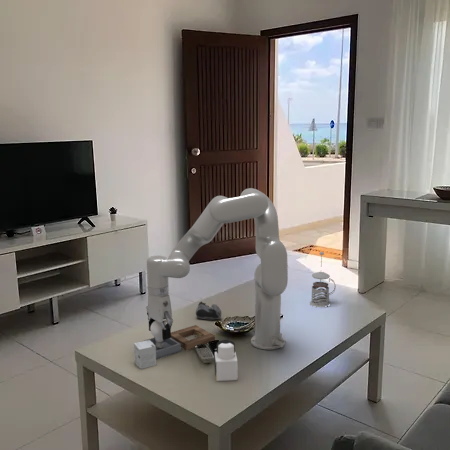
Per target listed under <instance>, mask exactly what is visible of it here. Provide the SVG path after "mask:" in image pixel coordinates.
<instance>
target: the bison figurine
mask: <svg viewBox="0 0 450 450" xmlns="http://www.w3.org/2000/svg"><path fill="white" fill-rule="evenodd" d="M195 316H196V317H197V318H198V319H201V320H209V321H210V320H219V319H221V318H222V310H221V309H220V307H219V306H218V304H213V303H212V304H211V307H210V306H209V305H208V304H206V302H203V301H200V302H199V303H198V304H197V307H196V309H195Z"/></svg>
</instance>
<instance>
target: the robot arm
mask: <svg viewBox="0 0 450 450" xmlns="http://www.w3.org/2000/svg"><path fill="white" fill-rule="evenodd" d="M250 219H253V220H254V226H255V253H256V255H257V256H258V257H259V259H260V264H258V265H257V266H256V268H255V269H254V270H255V271H254V276H253V280H254V292H255V301H254V302H255V305H254V306H255V307H254V309H255V311H254V313H255V316H254V317H255V319H254V322H255V323H254V332H255V333H254V335H253V336H252V337H251V338H250V343H251V345H252V346H254V348H257V349H261V350H267V351H268V350H271V351H272V350H276V349H280V348H284V346H285V345H286V343H287V340H286V339H284V338H283V333H281V304H282V294H283V293H284V292H285V291H286V289H287V286H288V279H289V277H288V276H289V275H288V268H289V267H288V252H287V248H286V246H285V244H284V242H282V241H281V240H280V228H279V219H278V212H277V209H276V207H275V205H274V203H273V201H272V200H271V199H270V198H269V197H268V196H267V195H266V194H265V193H264V192H262V191H260V190H258V189H256V188H252V187H250V188H245V189H244V190H243V191H242V192H241V193H240V196H239V195H238V196H235V197H226V196H224V195H217V196H214V197H213V198H212V199H211V200H210V201H209V203H208V204H207V206H206V207H205V209H204V210H203V211H202V213H201V214H200V215H199V217H198V218H197V219H196V221H195V222H194V223H193V225H192V226H191V227H190V229H189V230H187V232H186V233H185V234H184V235H183V236H182V237H181V239H180V240H179V241H178V242H177V244H176V245H175V246H174V248H173V249H172V251H171V252H170V254H169V256H168V258H167V257H166V256H164V255H153V256H150V257H148V258H147V259H146V273H147V274H146V278H147V305H146V307H145V309H146V314H147V320H148V331H150V332H151V330H150V327H151V324H152V323H153V322H154V321H158V322H159V323H161V324H162V327H163V329H162V338H163V340H165V339H169V338H171V332H172V330H171V329H172V326H173V323H174V319H173V313H172V302H171V296H170V295H169V293H170V292H169V290H170V289H169V287H170V286H169V278H171V279H172V278H173V279H183V278H184V277H186V276H187V275H188V274H189V273H190V269H191V267H190V262H189V261H191V259H192V258H193V256H194V255H195V254H196V252H197V251H199V249H200V248H201V247H202V246H204V245H207V244H209V243H210V242H212V241H213V239H214V238H215V236H217V234H218V233H219V231H220V229H221V228H222V226H223V225H224V224H230V223H235V222H241V221H245V220H250ZM164 323H166V325H165V324H164Z"/></svg>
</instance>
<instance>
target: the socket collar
mask: <svg viewBox="0 0 450 450" xmlns="http://www.w3.org/2000/svg"><path fill="white" fill-rule="evenodd" d="M191 336H195V338H192V339H187V338H189V337H191ZM171 338H172V339H174V340H175V341H177V342H179V343H180V344H181V349H183V350H185V351H186V352H188V351H191V350H194V349H196V348H195V346H196V345H198V344H206V345H208V344H207V343H208V342H209V341H214V340H215V341H216V335H215V334H213V333H211V332H209V331H208V330H206V329H204V328H203V327H200V326H199V325H196V324H194V325H191V326H189V327H188V326H187V327H185V328H181V329H178V330H174V331H171Z"/></svg>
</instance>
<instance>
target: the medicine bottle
mask: <svg viewBox="0 0 450 450" xmlns="http://www.w3.org/2000/svg"><path fill="white" fill-rule="evenodd" d="M238 365H239V364H238V357H237V353H236V343H235V342H234V341H233V340H230V339H222V340H219V341H217V343H216V351H214V375H215V381H216V382H222V381H225V382H226V381H237V380H238V379H239V377H238V375H239V374H238V373H239V372H238V371H239V369H238V367H239V366H238Z"/></svg>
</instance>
